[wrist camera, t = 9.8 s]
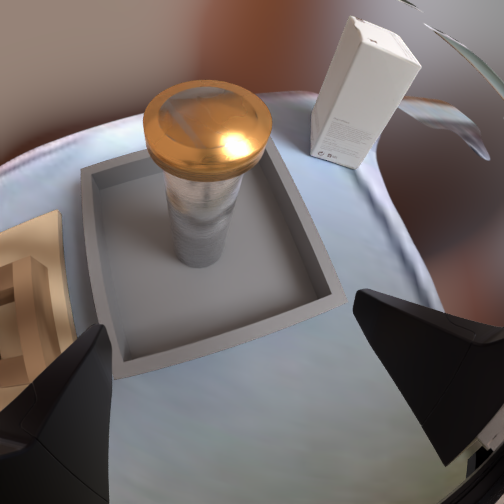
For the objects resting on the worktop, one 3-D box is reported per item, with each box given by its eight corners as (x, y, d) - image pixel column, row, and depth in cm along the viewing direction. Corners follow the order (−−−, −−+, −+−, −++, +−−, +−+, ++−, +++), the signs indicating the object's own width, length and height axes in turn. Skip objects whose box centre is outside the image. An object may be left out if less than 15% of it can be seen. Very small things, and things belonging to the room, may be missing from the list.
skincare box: (356, 171, 29) (428, 72, 15) (305, 156, 29) (362, 39, 15) (351, 123, 32) (403, 35, 19) (308, 109, 32) (349, 11, 18)
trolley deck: (109, 437, 16) (91, 451, 13) (10, 443, 13) (-14, 451, 9) (61, 214, 22) (44, 192, 18) (-22, 248, 19) (-43, 233, 15)
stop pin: (224, 282, 21) (262, 177, 9) (158, 266, 21) (121, 147, 9) (237, 222, 23) (278, 94, 12) (176, 208, 23) (171, 73, 11)
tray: (329, 310, 23) (348, 302, 20) (128, 376, 18) (114, 380, 15) (258, 150, 28) (265, 126, 25) (92, 190, 23) (80, 168, 20)
